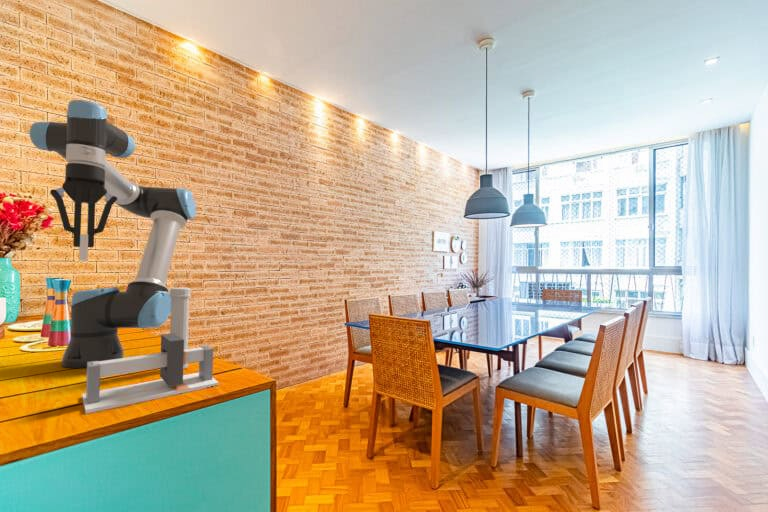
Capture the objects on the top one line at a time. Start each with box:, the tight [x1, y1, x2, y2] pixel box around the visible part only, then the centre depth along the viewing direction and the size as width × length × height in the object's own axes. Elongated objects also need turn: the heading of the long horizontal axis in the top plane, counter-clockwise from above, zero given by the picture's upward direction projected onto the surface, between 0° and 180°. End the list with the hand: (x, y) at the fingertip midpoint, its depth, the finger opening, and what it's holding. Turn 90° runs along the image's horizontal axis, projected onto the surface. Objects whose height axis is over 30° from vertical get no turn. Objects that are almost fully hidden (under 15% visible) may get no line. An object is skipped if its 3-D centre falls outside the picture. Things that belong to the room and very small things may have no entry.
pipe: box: [169, 268, 191, 370], centre depth 108 cm, size 6×6×30 cm
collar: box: [159, 333, 184, 386], centre depth 92 cm, size 10×3×11 cm, turn 43°
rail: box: [81, 345, 220, 415], centre depth 89 cm, size 12×27×9 cm, turn 133°
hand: (83, 260), depth 88 cm, fingers closed
